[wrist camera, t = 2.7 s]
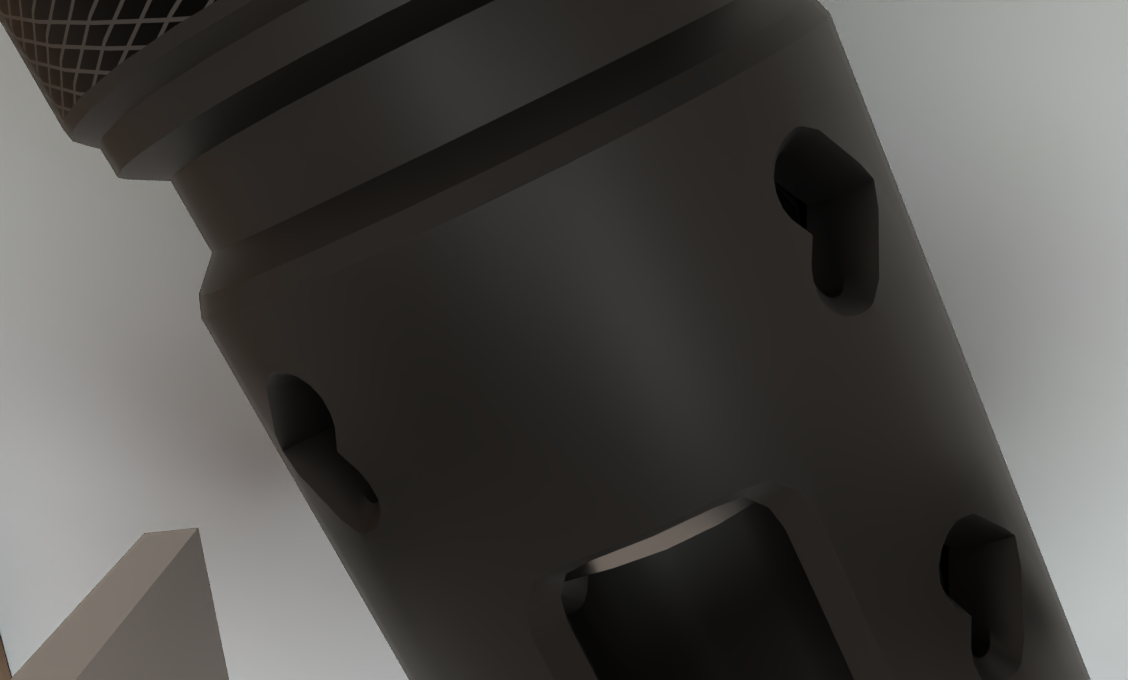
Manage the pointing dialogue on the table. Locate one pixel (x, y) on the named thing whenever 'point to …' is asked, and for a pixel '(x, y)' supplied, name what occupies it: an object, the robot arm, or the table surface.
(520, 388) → the muzzle brake
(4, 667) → the mounting board
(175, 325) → the table surface
